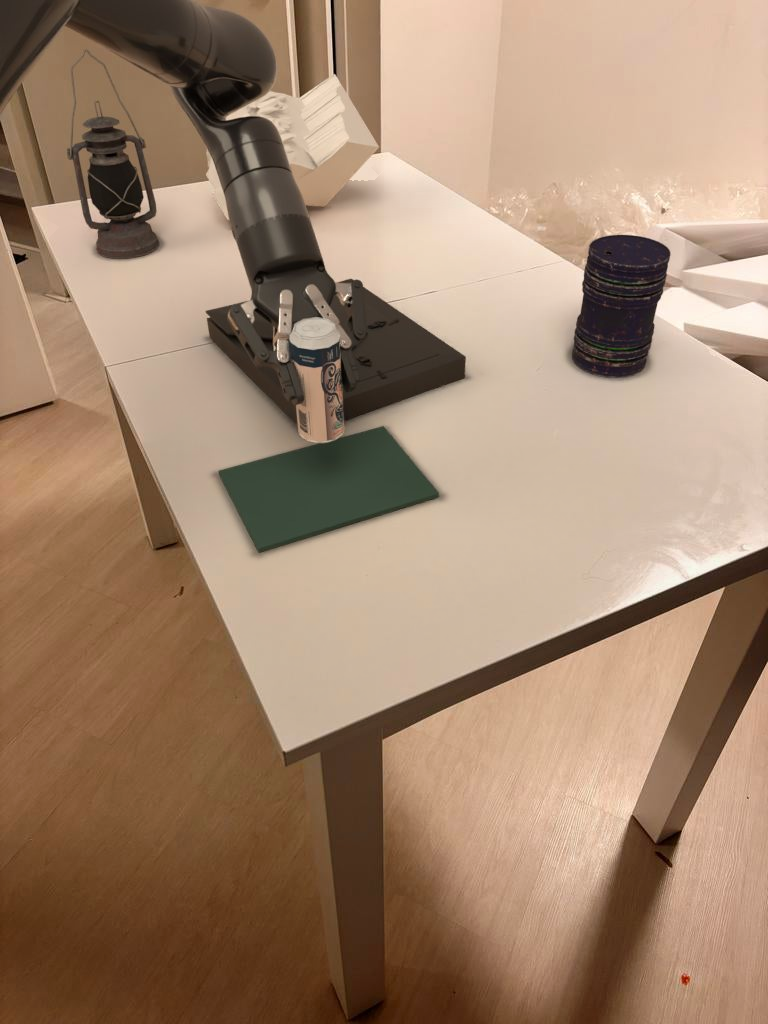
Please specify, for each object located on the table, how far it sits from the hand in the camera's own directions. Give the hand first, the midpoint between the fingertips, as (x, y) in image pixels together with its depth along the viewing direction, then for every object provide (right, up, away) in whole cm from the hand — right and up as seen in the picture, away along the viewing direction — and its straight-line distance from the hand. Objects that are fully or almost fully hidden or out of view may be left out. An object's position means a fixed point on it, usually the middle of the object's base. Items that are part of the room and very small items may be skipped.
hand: (325, 395), depth 78 cm
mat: (-1, -8, +9) cm, 12 cm away
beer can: (-1, -3, +5) cm, 6 cm away
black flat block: (-1, +9, +31) cm, 32 cm away
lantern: (-39, +34, +61) cm, 80 cm away
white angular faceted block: (-23, +51, +72) cm, 91 cm away
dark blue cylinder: (+35, +9, +29) cm, 47 cm away
